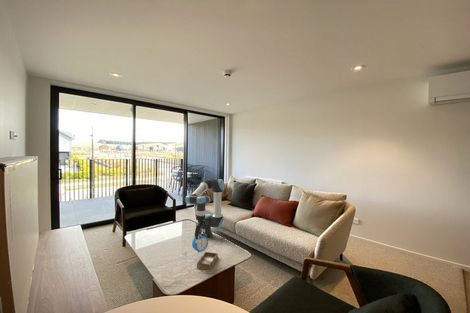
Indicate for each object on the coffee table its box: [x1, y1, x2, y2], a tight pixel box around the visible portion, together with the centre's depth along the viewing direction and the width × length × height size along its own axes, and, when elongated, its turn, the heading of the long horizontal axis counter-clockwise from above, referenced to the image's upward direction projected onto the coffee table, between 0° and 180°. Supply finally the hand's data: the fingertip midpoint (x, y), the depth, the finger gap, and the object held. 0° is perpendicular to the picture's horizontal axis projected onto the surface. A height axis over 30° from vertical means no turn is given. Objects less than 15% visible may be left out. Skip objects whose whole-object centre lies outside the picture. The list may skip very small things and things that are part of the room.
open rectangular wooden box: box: [196, 251, 219, 271], centre depth 168 cm, size 19×12×4 cm, turn 168°
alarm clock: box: [191, 232, 209, 253], centre depth 169 cm, size 13×6×15 cm, turn 135°
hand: (200, 239), depth 169 cm, fingers closed on alarm clock, 13 cm apart
